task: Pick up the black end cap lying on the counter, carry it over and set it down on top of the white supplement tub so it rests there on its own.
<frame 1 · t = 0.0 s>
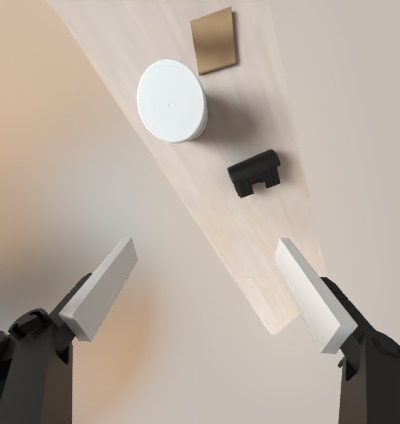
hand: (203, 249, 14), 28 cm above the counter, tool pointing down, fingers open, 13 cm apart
oak coaster: (213, 45, 28), on the counter
end cap: (249, 170, 38), on the counter
supplement tub: (186, 117, 33), on the counter
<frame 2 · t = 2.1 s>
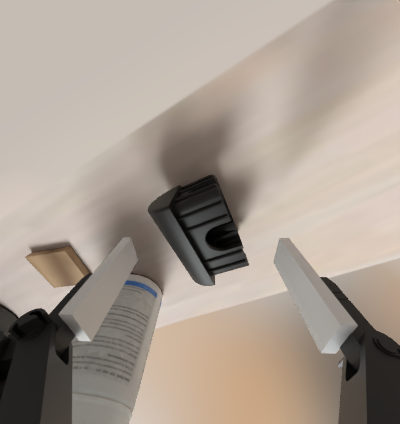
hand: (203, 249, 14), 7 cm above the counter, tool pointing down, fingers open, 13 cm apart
oak coaster: (64, 265, 25), on the counter
end cap: (201, 215, 20), on the counter
supplement tub: (137, 289, 27), on the counter
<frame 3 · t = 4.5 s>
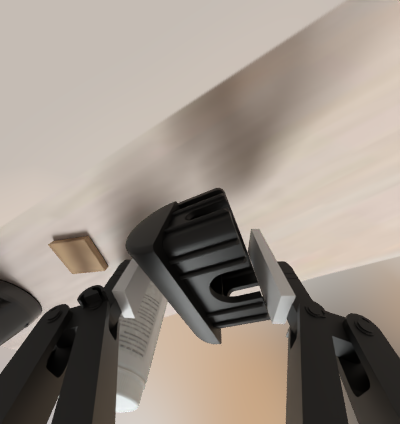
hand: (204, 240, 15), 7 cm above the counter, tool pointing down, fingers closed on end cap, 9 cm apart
oak coaster: (82, 254, 27), on the counter
end cap: (204, 237, 15), point 6 cm above the counter, touching gripper
supplement tub: (148, 278, 29), on the counter
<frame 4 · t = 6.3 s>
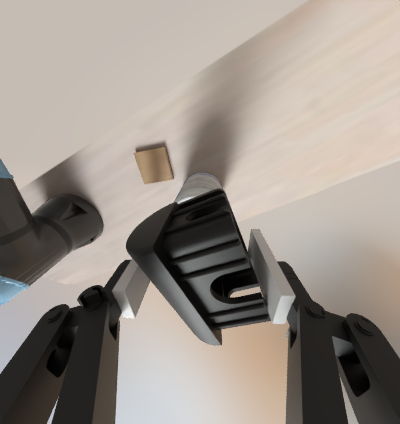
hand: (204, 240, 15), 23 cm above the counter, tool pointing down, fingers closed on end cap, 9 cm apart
oak coaster: (155, 165, 34), on the counter
end cap: (204, 237, 15), point 22 cm above the counter, touching gripper
supplement tub: (202, 191, 36), on the counter
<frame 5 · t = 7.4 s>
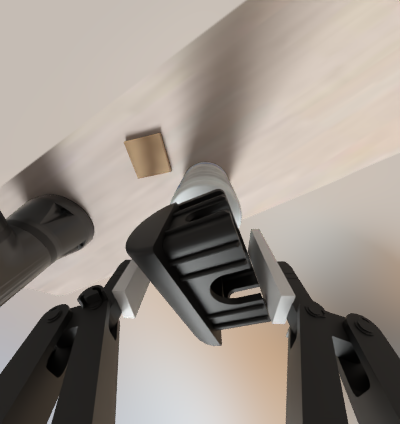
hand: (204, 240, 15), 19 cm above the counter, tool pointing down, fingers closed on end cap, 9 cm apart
oak coaster: (149, 156, 30), on the counter
end cap: (204, 238, 15), point 18 cm above the counter, touching gripper
supplement tub: (205, 184, 32), on the counter
when the fingers open (16 cm above the counter, at t = 8.4 s): end cap stays where it is, resting on supplement tub.
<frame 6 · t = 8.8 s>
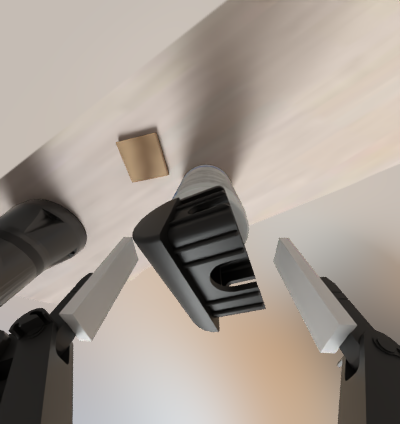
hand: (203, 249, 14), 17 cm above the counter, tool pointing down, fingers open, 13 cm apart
oak coaster: (144, 158, 27), on the counter
end cap: (204, 232, 16), point 14 cm above the counter, touching supplement tub
supplement tub: (206, 189, 29), on the counter, touching end cap
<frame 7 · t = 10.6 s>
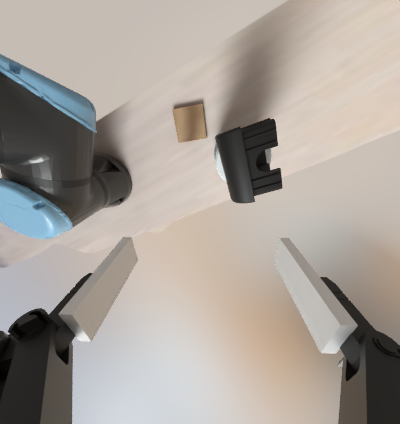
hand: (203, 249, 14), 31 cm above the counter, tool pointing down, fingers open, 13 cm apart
oak coaster: (190, 124, 36), on the counter
end cap: (242, 160, 26), point 14 cm above the counter, touching supplement tub
supplement tub: (232, 152, 39), on the counter, touching end cap
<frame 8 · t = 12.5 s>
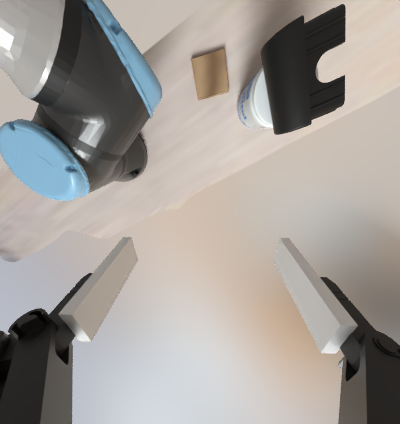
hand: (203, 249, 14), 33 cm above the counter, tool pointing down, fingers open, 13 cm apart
oak coaster: (210, 77, 33), on the counter
end cap: (284, 91, 22), point 14 cm above the counter, touching supplement tub
supplement tub: (256, 107, 36), on the counter, touching end cap
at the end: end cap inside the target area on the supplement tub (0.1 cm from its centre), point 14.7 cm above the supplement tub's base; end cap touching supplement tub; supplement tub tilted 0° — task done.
